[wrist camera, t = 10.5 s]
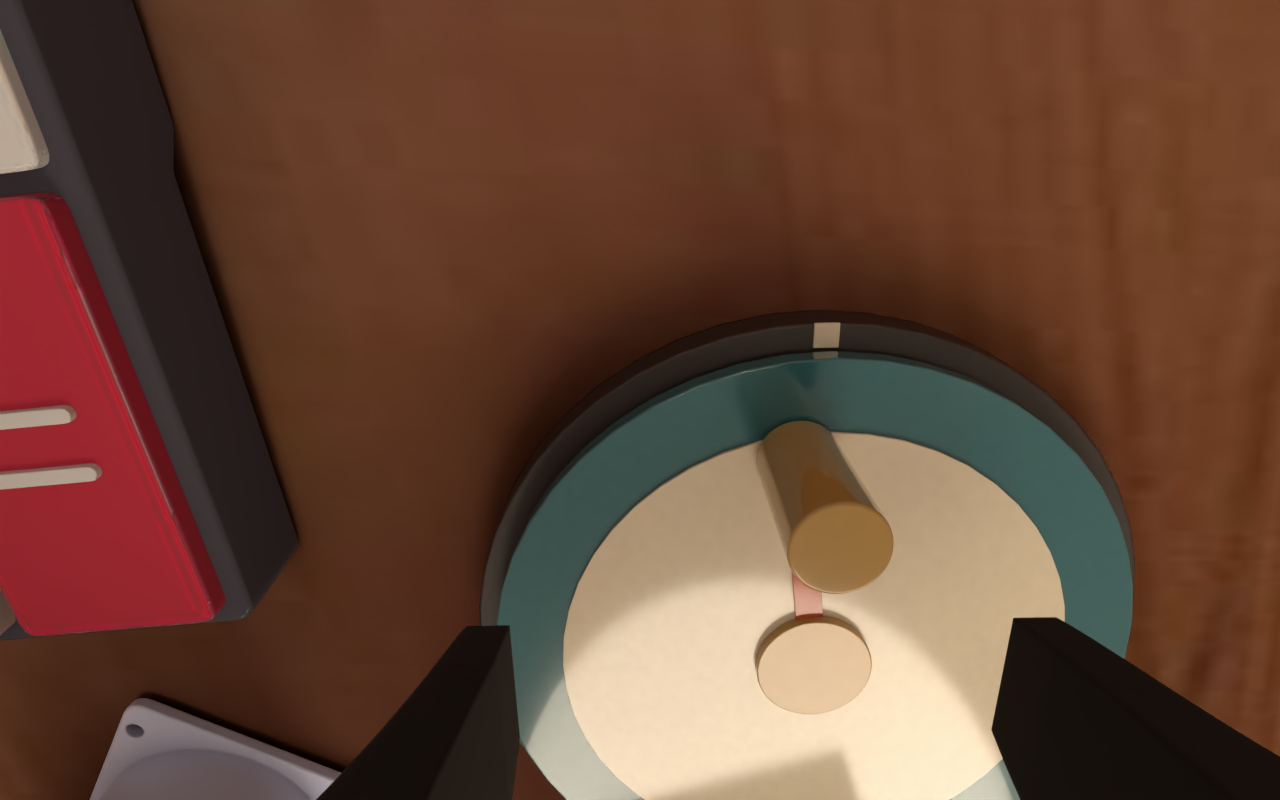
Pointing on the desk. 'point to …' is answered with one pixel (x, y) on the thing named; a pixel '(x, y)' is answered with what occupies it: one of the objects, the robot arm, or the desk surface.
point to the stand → (754, 344)
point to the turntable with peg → (801, 585)
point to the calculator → (114, 353)
